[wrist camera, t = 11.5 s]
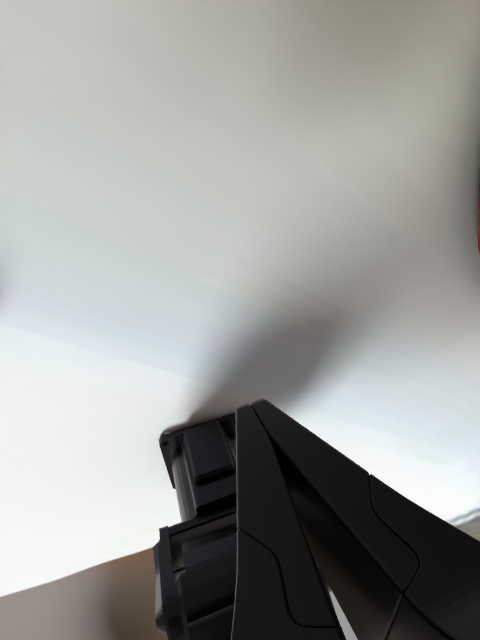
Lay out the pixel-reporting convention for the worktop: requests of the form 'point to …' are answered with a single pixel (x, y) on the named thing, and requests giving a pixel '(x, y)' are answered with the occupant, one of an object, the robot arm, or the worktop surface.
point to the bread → (479, 224)
